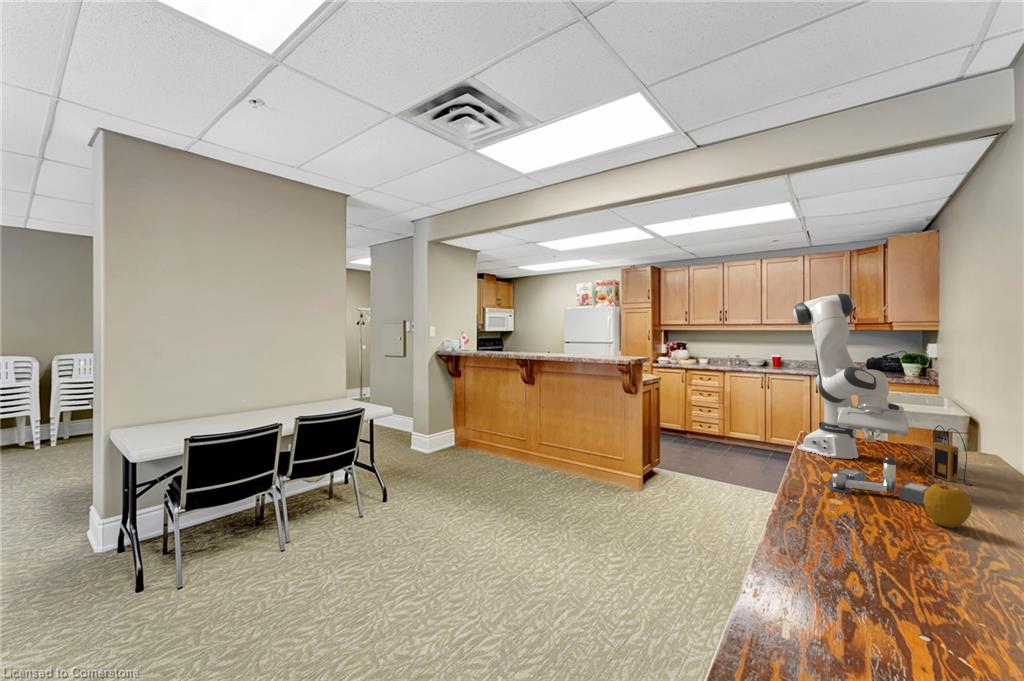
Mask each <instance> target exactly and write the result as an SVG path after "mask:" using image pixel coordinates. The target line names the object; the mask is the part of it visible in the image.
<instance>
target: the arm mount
mask: <svg viewBox="0 0 1024 681" xmlns="http://www.w3.org/2000/svg"><path fill="white" fill-rule="evenodd" d="M825 486H826V487H827V488H828V490H829V491H830V492H833V493H834V492H835V493H842V494H850V495H852V494H853V491H852V490H851V488H849V487H846V488H838V487H834V486H832V483H828V482H826V483H825Z"/></svg>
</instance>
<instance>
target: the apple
mask: <svg viewBox="0 0 1024 681" xmlns="http://www.w3.org/2000/svg"><path fill="white" fill-rule="evenodd" d="M923 502H924V505H923V506H924V508H925V512H927V514H928V515H929V517H930V519H931V520H932V521H933V522H934V523H935V524H936V525H939V526H940V527H941V526H942V527H945V528H950V529H955V528H958V527H960V526H961V525H963V523H965V522H966V521H967V520H968V518H969V516H970V515H971V513H972V510H973V509H972V508H973V506H972V503H971V501H970V499H969V497H968V496H967V494H965V492H964V491H962V490H961V489H960V488H958V487H954V486H951V485H948V484H942V483H934V484H932V485H931V487H929V488H928V489H927V491H926V492H925V494H924V501H923Z"/></svg>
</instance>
